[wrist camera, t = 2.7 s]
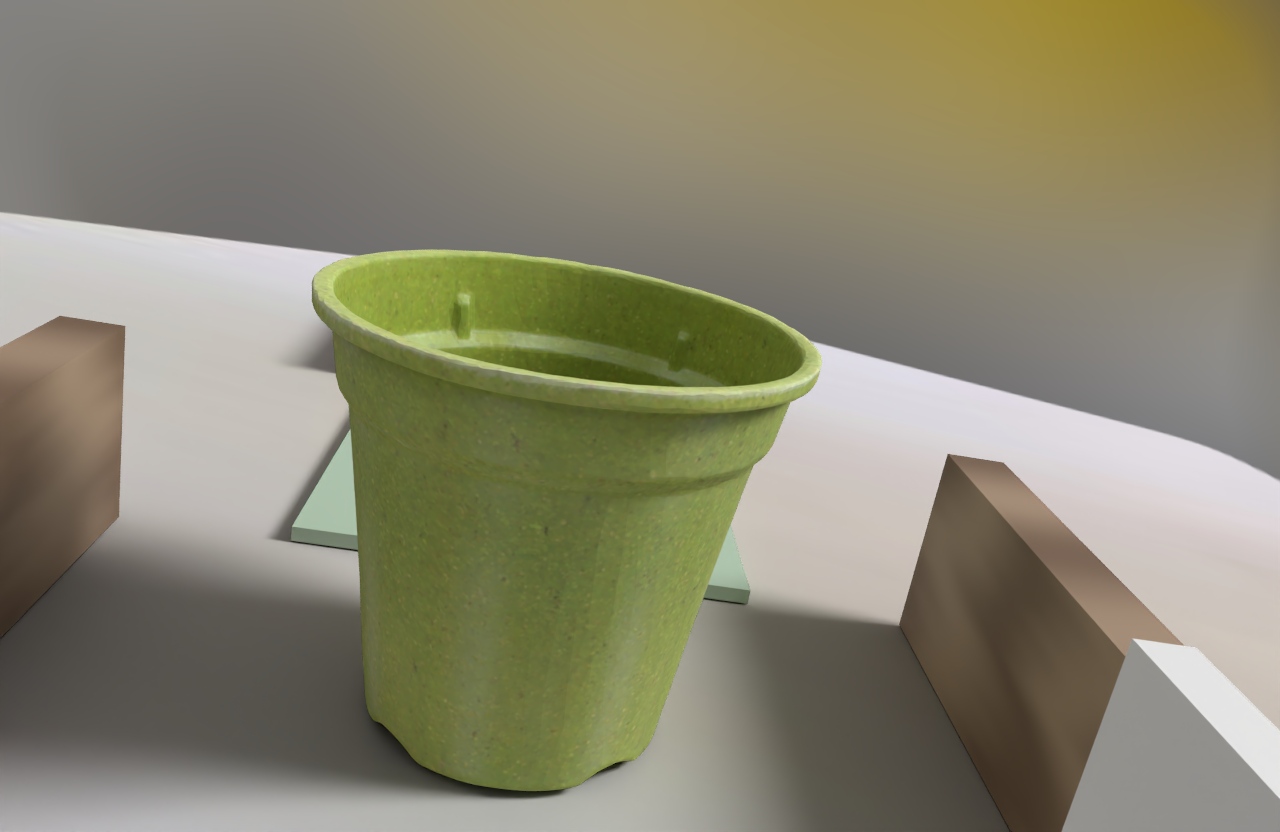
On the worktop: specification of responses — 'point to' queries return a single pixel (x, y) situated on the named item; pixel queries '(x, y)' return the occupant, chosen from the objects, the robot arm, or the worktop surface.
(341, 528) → the pad
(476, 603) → the plant pot
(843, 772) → the worktop surface
